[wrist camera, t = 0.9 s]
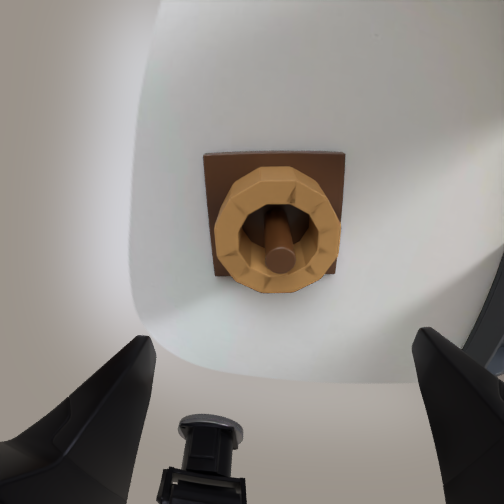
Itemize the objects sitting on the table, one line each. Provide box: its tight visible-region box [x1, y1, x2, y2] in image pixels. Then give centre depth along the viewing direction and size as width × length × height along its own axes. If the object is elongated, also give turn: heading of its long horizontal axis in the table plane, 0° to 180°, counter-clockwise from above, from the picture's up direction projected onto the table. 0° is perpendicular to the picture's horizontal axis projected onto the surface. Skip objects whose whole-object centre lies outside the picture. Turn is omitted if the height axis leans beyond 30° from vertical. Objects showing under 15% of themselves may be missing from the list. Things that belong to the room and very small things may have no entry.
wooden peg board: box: [203, 151, 345, 276], centre depth 16 cm, size 8×8×6 cm
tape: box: [214, 166, 341, 293], centre depth 16 cm, size 6×6×3 cm
